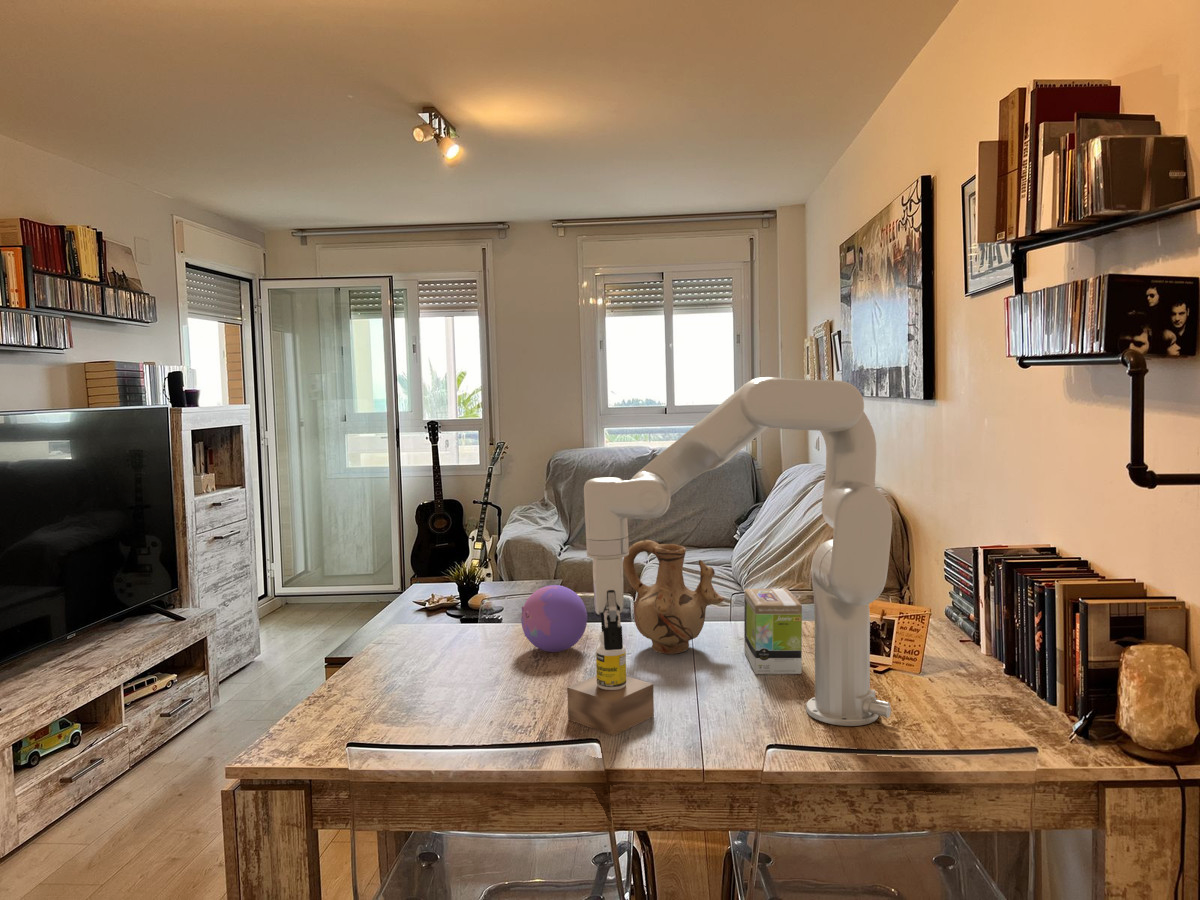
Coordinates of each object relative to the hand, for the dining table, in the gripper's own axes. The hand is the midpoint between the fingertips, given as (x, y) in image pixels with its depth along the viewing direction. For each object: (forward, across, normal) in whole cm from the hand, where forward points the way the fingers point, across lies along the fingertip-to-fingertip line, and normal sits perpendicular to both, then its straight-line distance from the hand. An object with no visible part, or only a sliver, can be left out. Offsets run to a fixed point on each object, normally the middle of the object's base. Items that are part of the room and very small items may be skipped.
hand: (612, 640), depth 150 cm
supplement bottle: (+8, 0, 0) cm, 8 cm away
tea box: (+15, -26, +35) cm, 46 cm away
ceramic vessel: (+15, -38, +15) cm, 43 cm away
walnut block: (+14, 0, -1) cm, 14 cm away
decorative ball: (+14, -40, -11) cm, 44 cm away
